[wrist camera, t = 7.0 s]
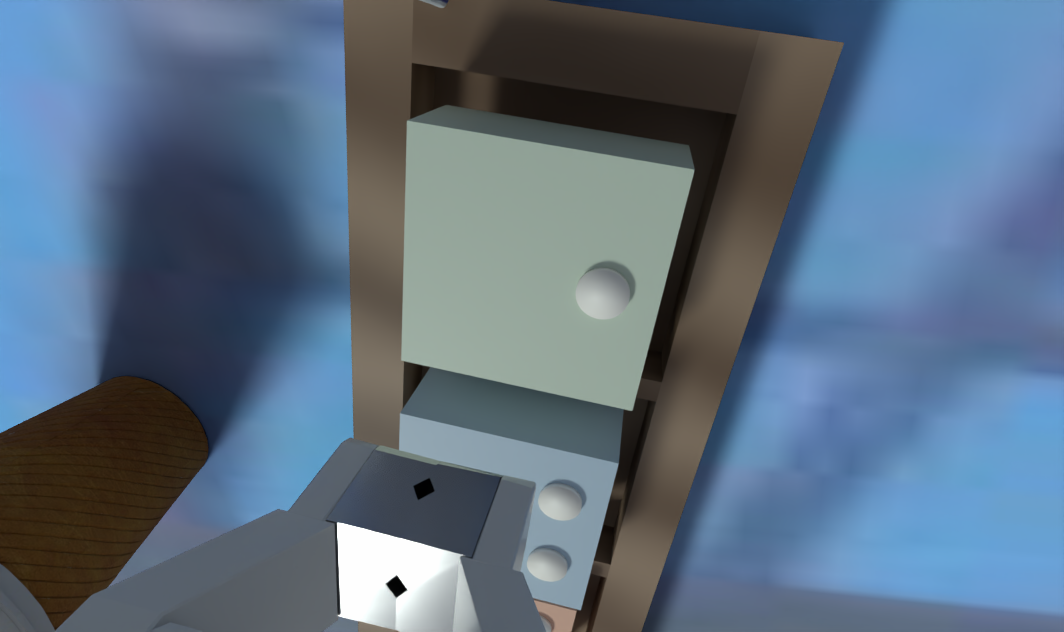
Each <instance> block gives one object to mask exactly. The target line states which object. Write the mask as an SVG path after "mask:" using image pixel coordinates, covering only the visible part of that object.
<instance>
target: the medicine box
mask: <svg viewBox="0 0 1064 632" xmlns="http://www.w3.org/2000/svg"><path fill="white" fill-rule="evenodd" d="M421 1H423V2H426V3H429V4H432V5H434V6H437V7H439V8H444V7H445V6H446V4H447V2H448V0H421Z"/></svg>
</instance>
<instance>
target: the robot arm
mask: <svg viewBox="0 0 1064 632" xmlns="http://www.w3.org/2000/svg"><path fill="white" fill-rule="evenodd" d="M535 492H536V483H535V482H533V481H528V480H524V479H519V478H515V477H510V476H506V475H500V474H495V473H491V472H487V471H482V470H478V469H474V468H469V467H465V466H461V465H456V464H452V463H448V462H443V461H438V460H435V459H431V458H427V457H423V456H420V455H416V454H412V453H408V452H405V451H401V450H397V449H393V448H389V447H386V446H382V445H381V446H379V445H375V444H371V443H368V442H364V441H360V440H357V439H353V438H349V439H347V440H346V441H344V442H342V443H341V444H340V446H339V447H338V448H337V449H336V451H335V452H334V453H333V454H332V456H331V457H330V458H329V460H328V461H327V462H326V463H325V465H324V466H323V467H322V468H321V470H320V471H319V472H318V474H317V475H316V476H315V477H314V479H313V480H312V481H311V482H310V484H309V485H308V486H307V488H306V489H305V490H304V491H303V493H302V494H301V495H300V496H299V498H298V499H297V500H296V502H295V503H294V504H293V505H292V507H291V508H290V509H289V510H288V511H284V510H280V509H277V510H275V511H273V512H271V513H269V514H266V515H264V516H262V517H260V518H258V519H256V520H253V521H251V522H249V523H247V524H245V525H243V526H240V527H238V528H236V529H234V530H232V531H230V532H227V533H225V534H223V535H221V536H219V537H217V538H214V539H212V540H210V541H208V542H206V543H203V544H201V545H199V546H197V547H195V548H193V549H190V550H188V551H186V552H184V553H182V554H180V555H177V556H175V557H173V558H171V559H169V560H167V561H164V562H162V563H160V564H158V565H156V566H154V567H151V568H149V569H147V570H145V571H143V572H140V573H138V574H136V575H134V576H132V577H130V578H127V579H125V580H123V581H121V582H119V583H117V584H114V585H112V586H110V587H108V588H106V589H104V590H101V591H99V592H97V593H95V594H93V595H91V596H90V597H89V598H88V599H87V600H86V601H85V602H84V603H83V604H82V605H81V606H80V607H79V608H78V609H77V610H76V611H75V612H74V613H73V614H72V615H71V616H70V617H69V618H68V619H67V620H66V621H65V622H64V623H63V624H62V625H60V626H59V627H58V628H57V629H56V630H55V631H54V632H322V631H324V630H325V629H326V628H328V627H329V626H330V625H332V624H333V623H334V622H336V621H337V620H338V616H340V617H344V618H348V619H352V620H356V621H361V622H365V623H369V624H373V625H377V626H381V627H385V628H389V629H393V630H397V631H400V632H546V630H545V627H544V625H543V622H542V620H541V617H540V615H539V612H538V610H537V607H536V605H535V602H534V600H533V597H532V595H531V592H530V589H529V587H528V584H527V582H526V579H525V577H524V574H523V572H520V571H521V567H522V562H523V557H524V552H525V547H526V542H527V537H528V531H529V526H530V520H531V514H532V509H533V503H534V498H535Z"/></svg>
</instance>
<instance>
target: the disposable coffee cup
mask: <svg viewBox="0 0 1064 632" xmlns="http://www.w3.org/2000/svg"><path fill="white" fill-rule="evenodd" d="M207 457H208V442H207V438H206V435H205V432H204V429H203V427H202V426H201V424H200V422H199V420H198V419H197V417H196V416H195V415H194V414H193V413H192V411H191V410H190V409H189V408H188V407H187V406H186V405H185V404H184V403H183V402H182V401H181V400H180V399H179V398H178V397H177V396H175V395H174V394H173V393H171V392H170V391H168V390H166V389H165V388H163V387H161V386H160V385H158V384H155V383H153V382H151V381H149V380H145V379H141V378H137V377H130V376H122V377H115V378H112V379H110V380H108V381H105V382H104V383H102V384H100V385H98V386H96V387H94V388H92V389H90V390H88V391H86V392H83V393H81V394H79V395H78V396H75V397H73V398H71V399H69V400H67V401H65V402H63V403H61V404H59V405H57V406H55V407H53V408H51V409H49V410H47V411H45V412H43V413H41V414H39V415H37V416H35V417H32V418H30V419H28V420H26V421H24V422H22V423H20V424H18V425H16V426H14V427H12V428H10V429H8V430H6V431H4V432H2V433H0V632H54V631H55V630H56V629H57V628H58V627H59V626H60V625H62V624H63V623H64V622H65V621H66V620H67V619H68V618H69V617H70V616H71V615H72V614H73V613H74V612H75V611H76V610H77V609H78V608H79V607H80V606H81V605H82V604H83V603H84V602H85V601H86V600H87V599H88V598H89V597H90V596H91V595H93V594H95V593H97V592H99V591H101V590H104V589H106V588H107V587H108V586H109V585H110V584H111V582H112V581H113V580H114V579H115V578H116V576H117V575H118V573H119V572H120V571H121V569H122V568H123V567H124V566H125V564H126V563H127V561H129V559H130V558H131V557H132V555H133V554H134V553H135V552H136V550H137V549H138V548H139V547H140V545H141V544H142V543H143V541H144V540H145V539H146V538H147V536H148V535H149V534H150V533H151V531H152V530H153V529H154V527H155V526H156V525H157V524H158V522H159V521H160V520H161V518H162V517H163V516H164V515H165V513H166V512H167V511H168V510H169V508H170V507H171V506H172V504H173V503H174V502H175V501H176V499H177V498H178V497H179V496H180V494H181V493H182V492H183V490H184V489H185V488H186V487H187V485H188V484H189V483H190V482H191V480H192V479H193V478H194V477H195V475H196V474H197V473H198V472H199V470H200V469H201V468H202V467H203V466H204V464H205V462H206V460H207Z"/></svg>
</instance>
